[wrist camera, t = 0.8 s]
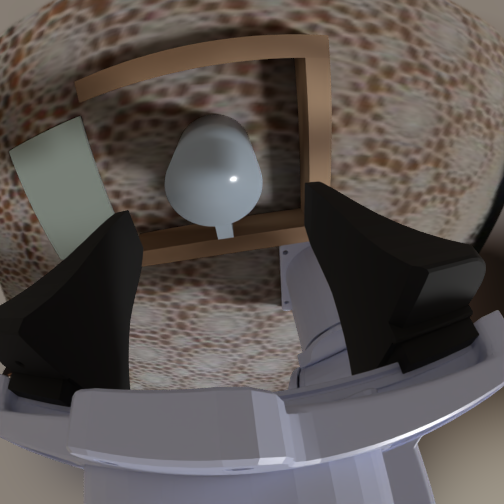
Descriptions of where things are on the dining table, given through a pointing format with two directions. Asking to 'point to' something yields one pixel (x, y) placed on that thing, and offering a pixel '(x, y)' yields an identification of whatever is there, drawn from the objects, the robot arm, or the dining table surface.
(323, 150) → the wooden frame
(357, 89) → the dining table surface
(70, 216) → the mat
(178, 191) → the grey rounded cylinder
